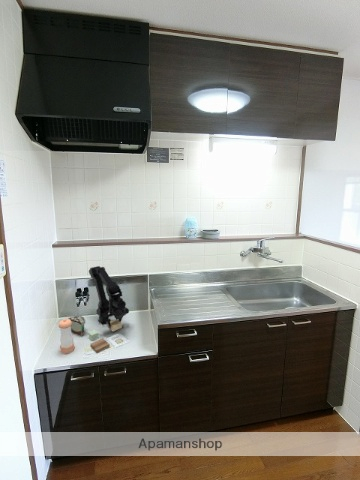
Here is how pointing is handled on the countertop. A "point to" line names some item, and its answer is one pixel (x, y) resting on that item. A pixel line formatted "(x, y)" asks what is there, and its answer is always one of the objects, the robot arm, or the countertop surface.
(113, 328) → the oak brick
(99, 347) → the walnut base
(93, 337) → the sage brick
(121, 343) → the page
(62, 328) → the pepper shaker
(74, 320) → the food container
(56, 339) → the countertop surface
